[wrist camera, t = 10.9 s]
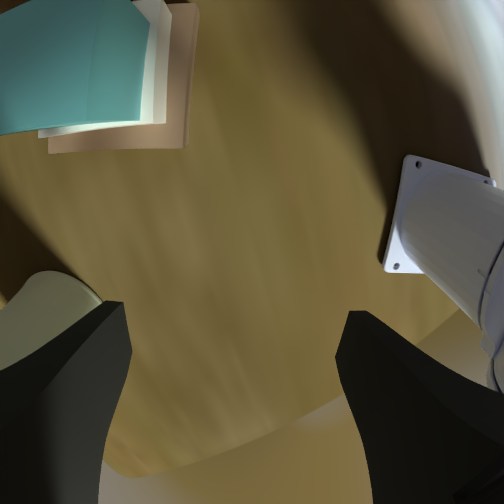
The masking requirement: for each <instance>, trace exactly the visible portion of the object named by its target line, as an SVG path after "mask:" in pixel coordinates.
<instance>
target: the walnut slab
mask: <svg viewBox="0 0 504 504" xmlns="http://www.w3.org/2000/svg"><path fill="white" fill-rule="evenodd" d="M166 5H167V7H168V9H169V10H170V12H171V14H172V21H171V32H170V44H169V58H168V75H167V99H166V123H162V124H146V125H134V126H123V127H114V128H105V129H97V130H90V131H83V132H76V133H70V134H64V135H57V136H50V137H48V153H49V154H54V153H65V152H77V151H91V150H109V149H138V148H185V147H187V146H188V137H189V121H190V106H191V94H192V82H193V71H194V61H195V52H196V43H197V35H198V27H199V20H200V13H199V9H198V6H197V3H178V4H166Z"/></svg>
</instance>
